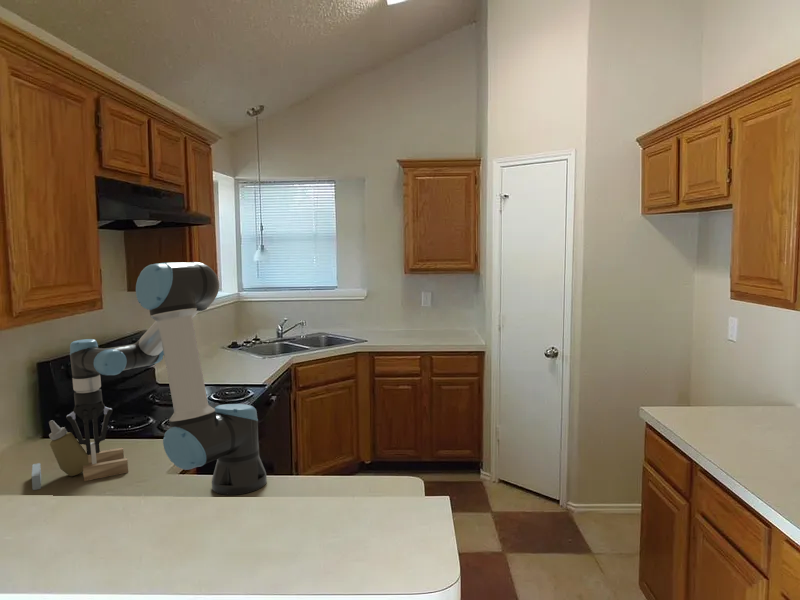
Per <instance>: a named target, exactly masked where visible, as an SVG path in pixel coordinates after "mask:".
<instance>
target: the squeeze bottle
mask: <svg viewBox="0 0 800 600" xmlns="http://www.w3.org/2000/svg"><path fill="white" fill-rule="evenodd" d="M48 424H49V428H50V431H51V432H50V433H49V434H48V436H49V439H50V440H51V441H50V443H49V446H50V447H51V450H52V453H53V455H54V458H55V459H56V462H57V464H58V466H59V468H60V470H62V472H64V473H65V474H66V475H68V476H69V477H74V476H77V475H79V474H81V473H83V466H86V465H89V462H88V455H87V450H85V449H84V447H83V446H82V444H79V442H78V439H77V437H76V435H74V434H73V432H71V431H69V432H68V430H67V428H66V426H64V427H63V426H62V427H60V425H58V424H57V423H56V422H55V420H53V419H52V420H49V421H48Z"/></svg>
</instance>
